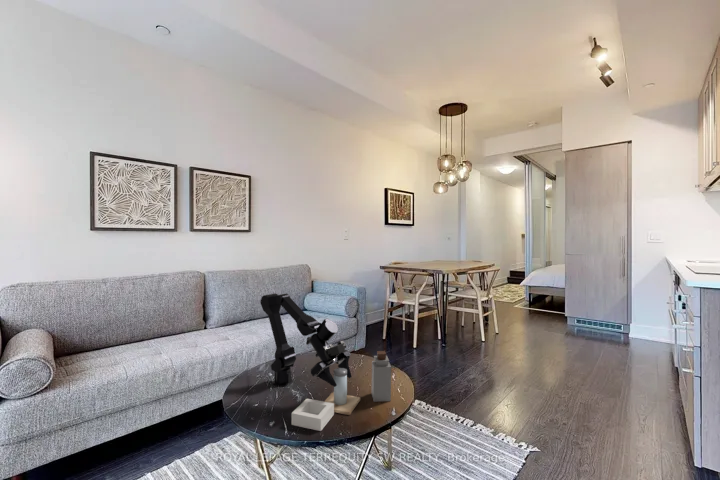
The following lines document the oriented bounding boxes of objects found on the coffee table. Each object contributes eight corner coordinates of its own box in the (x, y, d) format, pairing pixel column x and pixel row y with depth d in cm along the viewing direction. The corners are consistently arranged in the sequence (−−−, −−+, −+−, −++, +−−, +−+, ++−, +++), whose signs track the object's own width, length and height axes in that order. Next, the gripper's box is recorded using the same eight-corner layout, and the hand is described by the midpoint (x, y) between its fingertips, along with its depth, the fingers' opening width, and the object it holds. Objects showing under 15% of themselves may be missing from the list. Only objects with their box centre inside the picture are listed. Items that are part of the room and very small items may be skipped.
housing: (291, 424, 117) (291, 413, 116) (306, 409, 127) (306, 398, 127) (320, 431, 113) (320, 419, 113) (333, 414, 123) (334, 403, 123)
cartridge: (333, 405, 128) (333, 373, 128) (333, 398, 133) (333, 368, 133) (347, 404, 128) (347, 373, 128) (346, 398, 133) (346, 367, 133)
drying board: (319, 409, 127) (319, 406, 127) (332, 394, 138) (332, 392, 138) (349, 415, 123) (349, 412, 123) (360, 399, 134) (360, 397, 134)
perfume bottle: (371, 393, 140) (372, 349, 140) (387, 392, 141) (388, 349, 140) (373, 401, 133) (374, 355, 133) (390, 401, 134) (391, 355, 133)
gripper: (316, 341, 125) (340, 379, 119) (347, 330, 140) (369, 362, 134) (301, 358, 129) (322, 395, 123) (332, 345, 145) (353, 377, 139)
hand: (343, 381), depth 130 cm, fingers open, 9 cm apart
